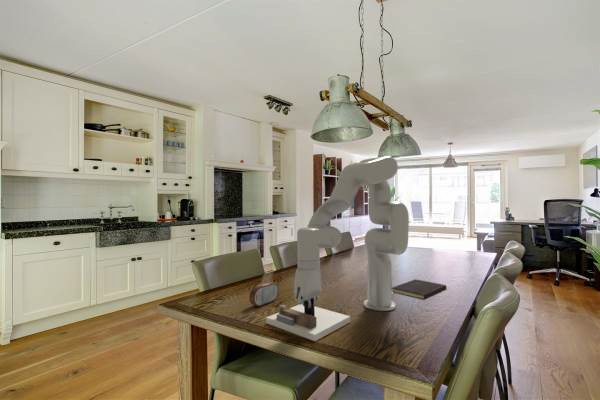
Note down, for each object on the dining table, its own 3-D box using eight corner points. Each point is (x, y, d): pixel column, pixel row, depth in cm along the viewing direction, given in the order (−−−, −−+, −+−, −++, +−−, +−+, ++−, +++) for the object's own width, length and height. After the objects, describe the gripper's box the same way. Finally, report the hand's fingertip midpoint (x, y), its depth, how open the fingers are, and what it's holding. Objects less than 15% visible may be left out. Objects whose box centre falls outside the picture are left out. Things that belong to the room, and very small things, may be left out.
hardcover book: (391, 292, 148) (391, 287, 148) (415, 283, 164) (415, 279, 164) (424, 300, 136) (424, 295, 136) (446, 289, 152) (446, 285, 152)
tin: (274, 298, 139) (274, 279, 139) (280, 299, 137) (279, 280, 137) (248, 307, 127) (248, 286, 127) (254, 309, 125) (254, 288, 125)
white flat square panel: (303, 308, 126) (303, 298, 126) (350, 322, 111) (350, 310, 111) (266, 323, 111) (266, 311, 111) (315, 341, 96) (315, 328, 96)
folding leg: (276, 316, 111) (276, 306, 111) (282, 314, 113) (282, 304, 113) (310, 329, 100) (310, 317, 100) (316, 326, 102) (316, 315, 102)
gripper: (313, 259, 115) (314, 309, 115) (285, 266, 104) (286, 322, 104) (330, 261, 110) (331, 314, 110) (302, 269, 99) (303, 328, 99)
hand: (309, 317), depth 107 cm, fingers closed
